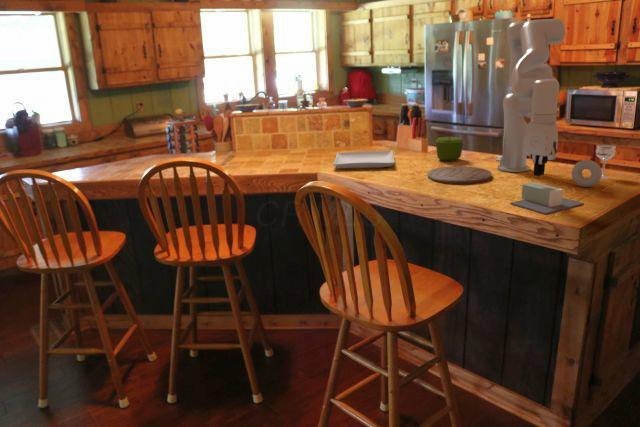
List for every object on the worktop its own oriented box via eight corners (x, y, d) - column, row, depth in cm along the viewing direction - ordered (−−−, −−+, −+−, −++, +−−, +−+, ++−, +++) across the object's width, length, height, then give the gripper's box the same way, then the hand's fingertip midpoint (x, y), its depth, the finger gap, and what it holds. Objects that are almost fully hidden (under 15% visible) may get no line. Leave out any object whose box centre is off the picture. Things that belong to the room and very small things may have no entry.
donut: (601, 187, 190) (604, 160, 187) (598, 189, 188) (601, 162, 185) (572, 184, 197) (574, 157, 194) (568, 186, 194) (571, 159, 191)
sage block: (522, 184, 178) (552, 191, 168) (532, 182, 181) (563, 189, 170) (521, 198, 180) (551, 207, 170) (531, 196, 182) (561, 204, 172)
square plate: (392, 157, 258) (392, 149, 257) (394, 170, 232) (394, 161, 231) (337, 158, 261) (337, 151, 260) (333, 171, 235) (332, 163, 234)
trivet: (498, 173, 219) (498, 168, 218) (482, 188, 198) (482, 183, 198) (439, 168, 231) (439, 164, 231) (418, 182, 211) (418, 177, 210)
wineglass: (607, 180, 199) (610, 148, 196) (589, 177, 205) (592, 146, 201) (616, 177, 203) (619, 146, 199) (598, 174, 208) (601, 143, 205)
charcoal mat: (510, 204, 176) (510, 202, 176) (547, 195, 184) (547, 193, 184) (545, 214, 164) (545, 213, 164) (583, 204, 172) (583, 203, 172)
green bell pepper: (457, 163, 237) (458, 138, 234) (431, 161, 243) (431, 137, 240) (465, 158, 247) (466, 134, 244) (440, 156, 253) (441, 132, 250)
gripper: (516, 118, 174) (512, 172, 180) (554, 122, 161) (549, 181, 167) (532, 115, 177) (528, 169, 183) (571, 120, 165) (566, 177, 170)
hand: (538, 174), depth 175 cm, fingers closed
